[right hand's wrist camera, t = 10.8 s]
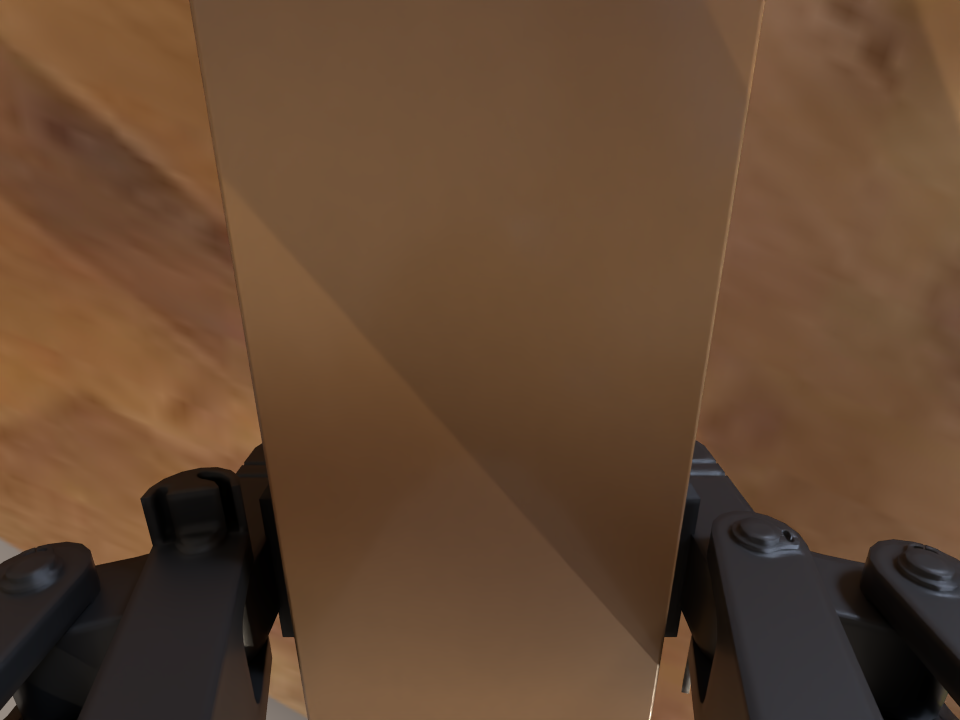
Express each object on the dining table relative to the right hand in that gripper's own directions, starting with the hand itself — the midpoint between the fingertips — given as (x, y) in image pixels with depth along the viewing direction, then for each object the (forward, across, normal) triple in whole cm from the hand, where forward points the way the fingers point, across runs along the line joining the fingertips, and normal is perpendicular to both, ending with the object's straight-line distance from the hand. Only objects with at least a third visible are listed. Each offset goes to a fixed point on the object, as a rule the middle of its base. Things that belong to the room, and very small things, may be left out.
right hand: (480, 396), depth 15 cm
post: (+1, 0, -23) cm, 23 cm away
